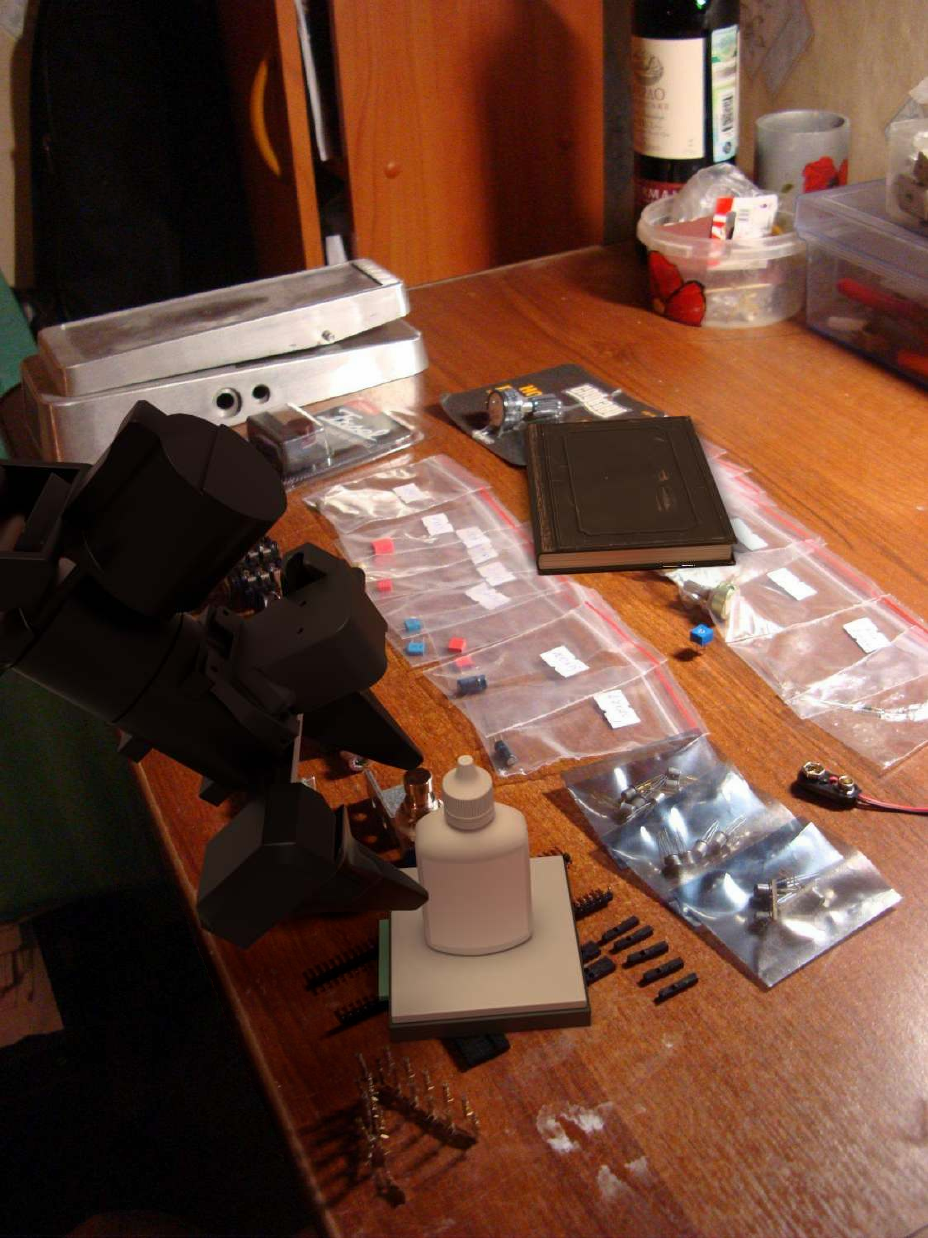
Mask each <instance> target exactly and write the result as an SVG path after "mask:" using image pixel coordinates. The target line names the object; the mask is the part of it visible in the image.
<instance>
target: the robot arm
mask: <svg viewBox="0 0 928 1238" xmlns="http://www.w3.org/2000/svg"><path fill="white" fill-rule="evenodd" d="M287 509H288V498H287V492H286V490H285V487H284V485H283V482H282V480H281V478H280V477H279V475H278V473H277V472H276V470H275V469H274V467H273V466H272V465H271V463H270V462H269V461H268V460H267V459H266V457H264V455H263V454H262V453H261V452H260V451H259V450H258V449H257V448H256V447H255V446H253V444H252V443H251V442H250V441H248V440H247V439H246V438H244V437H243V436H242V435H241V434H239V432H237V431H235V429H233V428H231V427H230V426H228V425H227V424H225V423H220V424H219V425H218V424H216V423H214V422H212V421H210V420H208V419H205V418H202V417H200V416H197V415H195V414H190V413H183V412H177V413H171V414H166V413H165V412H163V411H162V410H161V409H160V408H158V407H157V406H155V405H154V404H153V403H151V402H150V401H148V400H146V399H139V400H137V401H136V402H135V403H134V405H133V406H132V407H131V408H130V410H129V411H128V412H127V413H126V415H125V416H124V417H123V419H122V421H121V422H120V424H119V427H118V429H117V431H116V433H115V436H114V438H113V440H112V441H111V442H110V443H109V445H108V446H107V448H106V449H105V450H104V451H103V452H102V454H101V455H100V456H99V458H98V459H97V460H96V462H95V463H93V464H91V463H89V462H74V461H73V462H71V461H53V460H51V461H50V460H36V459H35V460H34V459H15V458H13V459H12V458H0V678H1V677H2V676H3V675H4V673H5V672H6V671H7V670H8V669H10V670H12V671H13V672H16V674H19V675H21V676H23V677H25V678H26V679H28V680H30V681H32V682H34V683H35V684H37V685H39V686H41V687H43V688H44V689H46V690H48V691H50V692H52V693H53V694H55V695H57V696H59V697H60V698H62V699H64V700H66V701H68V702H69V703H71V704H73V705H75V706H77V707H79V708H80V709H82V710H84V711H85V712H87V713H89V714H91V715H93V716H94V717H97V718H98V719H101V720H102V721H103V722H105V723H107V724H109V726H112V727H113V728H115V729H118V730H119V731H121V732H122V735H121V738H120V743H119V746H118V749H117V752H116V753H117V754H119V755H120V756H123V757H124V758H126V759H128V760H129V761H131V762H133V763H135V764H137V765H138V764H139V763H140V762H141V761H142V760H143V759H144V758H145V757H146V755H148V754H149V753H150V752H151V751H152V749H153V750H155V751H157V752H159V753H161V754H162V755H164V756H166V757H168V758H169V759H171V760H173V761H175V762H177V763H178V764H180V765H181V766H184V767H185V768H187V769H189V770H190V771H193V772H195V773H196V774H198V775H200V776H201V782H200V787H199V793H198V798H200V799H201V800H202V801H205V803H206V802H207V803H208V804H210V805H212V806H214V807H215V808H219V807H220V806H221V805H222V804H223V803H224V802H225V801H226V800H227V799H228V798H229V797H231V795H232V794H233V793H234V792H235V791H236V792H237V793H239V794H245V801H244V807H243V808H242V809H241V810H240V811H239V812H238V813H237V814H236V815H235V816H234V817H233V818H232V819H231V820H230V821H229V822H228V823H226V824H225V825H224V826H223V827H222V829H220V830H219V831H218V832H217V833H216V834H215V835H214V836H213V837H212V838H211V839H210V840H209V841H208V842H206V843H205V849H204V854H203V861H202V866H201V872H200V877H199V884H198V888H197V894H196V900H195V904H194V905H195V906H194V907H195V910H196V913H197V917H198V920H199V925H200V928H201V929H203V930H205V931H207V933H210V934H212V935H214V936H216V937H218V938H220V939H222V940H224V941H226V942H228V943H230V944H232V945H234V946H235V947H239V948H241V949H242V950H244V951H246V950H248V949H249V948H250V947H251V946H252V945H254V943H256V942H257V941H258V940H259V939H260V938H262V937H263V936H264V935H265V934H266V933H268V932H270V931H271V930H272V929H273V928H274V927H275V926H276V925H277V924H279V923H280V922H281V921H282V920H284V918H286V917H291V916H299V915H307V914H308V915H309V914H317V913H327V912H328V913H329V912H330V913H331V912H389V911H415V910H417V909H419V908H420V907H421V906H422V905H424V904H425V903H426V902H427V901H428V900H429V893H428V891H427V890H426V889H425V888H423V887H422V886H421V885H420V884H419V883H417V882H416V881H415V880H414V879H412V878H411V877H410V876H409V875H407V874H406V873H404V872H403V871H401V870H400V869H401V868H398V867H397V866H395V865H394V864H392V863H391V862H389V861H388V860H387V859H385V858H383V857H382V856H381V855H379V854H377V853H375V852H374V851H373V850H371V849H370V848H368V847H367V846H365V845H364V844H362V843H361V842H359V841H358V840H357V839H355V838H354V837H353V835H352V832H351V831H352V830H351V826H350V825H351V824H350V820H349V814H348V809H347V806H346V805H345V804H344V803H342V804H341V805H339V807H337V808H336V809H335V810H334V811H333V809H332V808H331V806H330V805H329V803H328V802H327V800H326V798H325V797H324V795H323V794H322V793H320V792H319V791H318V790H315V789H314V788H312V787H310V786H309V785H307V784H306V783H303V782H302V781H298V771H299V761H300V753H301V752H300V750H301V741H302V740H301V739H302V737H305V738H307V739H309V740H314V741H316V742H319V743H322V744H325V745H327V746H330V747H332V748H336V749H339V750H341V751H345V752H347V753H350V754H353V755H356V756H358V757H361V758H364V759H367V760H370V761H373V762H375V763H379V764H381V765H384V766H388V767H391V768H395V769H399V770H403V771H407V772H414V771H415V770H416V769H418V768H419V767H420V766H421V765H422V764H423V763H424V761H425V756H424V753H423V752H422V750H420V748H419V747H418V746H417V744H416V743H415V742H414V741H413V740H412V738H411V737H410V736H409V735H408V734H407V733H406V731H405V730H404V729H403V727H402V726H401V725H400V724H399V722H397V720H396V719H395V718H394V716H393V715H392V713H390V712H389V711H388V709H387V708H386V707H385V706H384V704H383V703H382V702H381V700H380V699H378V696H376V694H375V693H374V691H373V690H372V689H371V688H372V687H373V686H375V685H376V684H377V683H379V681H381V680H382V678H383V677H384V676H385V674H386V672H387V670H388V665H389V661H388V660H389V658H388V655H387V653H386V633H388V631H389V623H388V622H387V620H386V618H385V617H384V616H383V614H382V613H381V612H380V610H379V609H378V608H377V606H376V605H375V603H374V602H373V601H372V599H371V598H370V597H369V595H368V594H367V592H366V580H367V578H366V577H367V575H366V572H365V571H364V569H362V568H361V567H358V566H353V567H352V566H351V565H350V564H349V562H347V560H346V559H345V558H343V559H341V558H340V557H338V556H336V555H335V554H332V553H331V552H329V551H327V550H325V549H323V548H322V547H320V546H317V545H316V544H314V543H312V542H310V541H306V542H304V543H302V544H300V545H298V546H296V547H294V548H292V549H290V550H288V551H285V553H284V554H282V557H281V558H282V559H281V564H280V571H279V582H280V589H281V590H280V591H281V597H279V596H278V595H277V593H275V592H274V593H272V594H270V595H268V596H267V601H266V607H265V608H264V609H263V610H261V611H259V612H257V613H255V614H254V615H252V616H251V617H249V618H247V617H243V616H242V615H238V614H237V613H236V612H234V611H232V610H230V609H229V608H228V607H225V606H223V605H221V606H219V607H216V606H214V605H212V604H211V603H209V604H208V605H207V606H206V607H205V608H204V609H203V611H201V613H200V614H199V615H198V616H197V617H194V616H193V615H192V614H190V613H189V612H193V611H195V610H196V609H198V608H200V607H201V606H202V605H203V604H205V602H206V601H207V599H208V598H209V597H210V596H211V595H212V594H213V593H214V592H215V591H216V590H217V589H218V588H219V586H220V585H222V583H223V582H224V581H225V579H226V578H228V576H229V575H230V574H232V572H233V571H234V570H235V569H236V568H237V566H238V565H240V563H241V562H242V561H243V560H244V559H245V558H246V556H248V555H249V553H250V552H251V551H252V550H253V549H254V548H255V547H256V546H257V545H258V543H259V542H260V541H261V540H262V539H263V538H264V537H265V536H266V535H267V534H268V533H269V532H270V531H271V529H272V528H273V527H274V526H275V525H276V524H277V523H278V521H280V520H281V519H282V517H283V516H284V514H285V513H286V511H287Z"/></svg>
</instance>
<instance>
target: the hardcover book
mask: <svg viewBox="0 0 928 1238" xmlns="http://www.w3.org/2000/svg"><path fill="white" fill-rule="evenodd" d="M523 445H524V455H525V465H526V475H527V485H528V494H529V495H528V496H529V503H530V504H529V505H530V515H531V523H532V534H533V543H534V555H535V564H536V570H537V571H538V572H539V573H540V574H542V575H546V576H547V575H563V574H565V575H566V574H580V573H598V572H617V571H618V572H619V571H636V570H638V571H639V570H657V569H661V568H660V567H663V566H682V565H693V566H694V565H695V566H696V567H707V566H706V565H715V566H728V565H727V564H734V565H736V564H737V561H736V558H735V555H734V552H733V549H732V545H738V544H739V543H738V542H739V541H738V538H737V536H736V533H735V530H734V528H733V525H732V522H731V520H730V517H729V514H728V512H727V509H726V506H725V504H724V502H723V498H722V496H721V493H720V491H719V487H718V486H717V483H716V480H715V478H714V475H713V472H712V469H711V467H710V464H709V461H708V458H707V456H706V454H705V451H704V448H703V446H702V443H701V440H700V438H699V435H698V433H697V430H696V427H695V425H694V421H693V419H692V417H691V415H690V414H689V415H688V414H687V415H672V416H657V417H655V416H654V417H637V418H619V419H604V420H601V419H600V420H586V421H567V422H553V423H552V422H551V423H535V424H534V423H533V424H532V423H531V424H528V425H527V426H525V428H524V429H523ZM722 564H723V565H722ZM702 565H703V566H702Z"/></svg>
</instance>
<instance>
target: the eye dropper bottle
mask: <svg viewBox="0 0 928 1238" xmlns="http://www.w3.org/2000/svg"><path fill="white" fill-rule="evenodd" d="M456 763H457V764H456V767H454V768H452V769H450V770H449V771H448V772H446V774H445V775H444V776H443V778H442V780H441V795H442V806H441V807H439V808H436V809H434V810H432V811H430V812H429V813H427V814H425V815H423V816H422V817H421V818H419V820H418V821H417V822H416V825H415V827H414V851H415V861H416V862H415V863H416V867H417V871H418V880H419V884H420V885H421V886H422V887H423V888H425V889H426V890H427V891H428V893H429V900H428V901H427V902H426V903H425V904H424V905H422V914H423V923H424V931H425V938H426V941H427V943H428V945H429V946H431V947H432V948H434V949H435V950H439V951H442V952H446V953H452V954H460V955H481V954H489V953H494V952H498V951H502V950H505V949H508V948H511V947H514V946H516V945H518V944H520V943H522V942H524V941H526V940H527V939H528V938H529V937H530V936H531V933H532V929H533V920H532V894H531V869H530V858H531V853H530V852H531V851H530V837H529V830H528V825H527V819H526V817H525V815H524V814H523V812H522V811H520V810H519V809H517V808H515V807H513V806H510V805H507V804H505V803H501V802H497V801H495V796H494V795H495V793H494V781H493V777H492V776H491V774H490V773H489V771H487V770H486V769H484V768H483V767H480V766H478V765H476V764H475V762H474V758H473V757H472V756H471V755H468V754H464V755H461V756H459V757H458V759H457V762H456Z"/></svg>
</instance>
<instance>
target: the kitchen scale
mask: <svg viewBox="0 0 928 1238" xmlns="http://www.w3.org/2000/svg"><path fill="white" fill-rule="evenodd" d="M399 869H400V870H401V871H403V872H404V873H406V874H407V875H409V876H410V877H411V878H412V879H414V880H415V881H416V882H417V883H419V880H418V871H417V866H416V867H406V868H405V867H403V868H399ZM530 869H531V894H532V920H533V929H532V933H531V936H530V937H529V938H528V939H527V940H526V941H524V942H522V943H520V944H518V945H516V946H514V947H511V948H508V949H505V950H502V951H498V952H494V953H489V954H481V955H460V954H452V953H446V952H442V951H439V950H435V949H434V948H432V947H431V946H429V945H428V943H427V941H426V938H425V931H424V923H423V914H422V906H421V907H420V908H419V909H417V910H415V911H388V918H385V919H379V922H378V923H379V924H378V1000H379V1001H380V1002H385V1001H388V1031H389V1038H390V1042H391V1043H403V1042H415V1041H416V1042H417V1041H427V1040H439V1039H451V1038H463V1037H464V1038H465V1037H474V1036H486V1035H487V1036H489V1035H498V1034H499V1035H501V1034H510V1033H522V1032H523V1033H525V1032H534V1031H547V1030H557V1029H560V1030H561V1029H571V1028H581V1027H582V1028H583V1027H584V1028H585V1027H590V1026H591V1025H592V1009H591V1002H590V997H589V989H588V985H587V980H586V979H587V978H586V974H585V968H584V962H583V954H582V949H581V943H580V937H579V931H578V926H577V925H578V924H577V919H576V913H575V908H574V901H573V895H572V890H571V884H570V877H569V872H568V871H569V870H568V866H567V861H566V860H565V859H564V857H563V855H551V856H540V857H539V856H538V857H530Z"/></svg>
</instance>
